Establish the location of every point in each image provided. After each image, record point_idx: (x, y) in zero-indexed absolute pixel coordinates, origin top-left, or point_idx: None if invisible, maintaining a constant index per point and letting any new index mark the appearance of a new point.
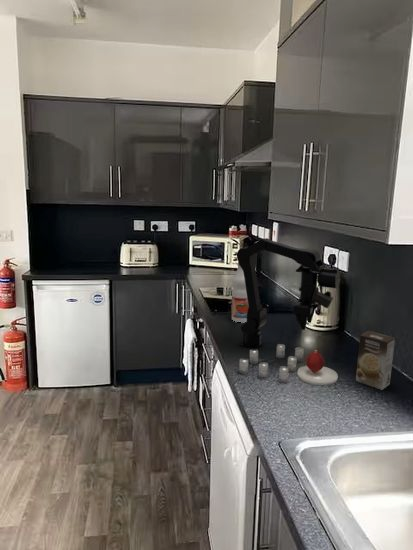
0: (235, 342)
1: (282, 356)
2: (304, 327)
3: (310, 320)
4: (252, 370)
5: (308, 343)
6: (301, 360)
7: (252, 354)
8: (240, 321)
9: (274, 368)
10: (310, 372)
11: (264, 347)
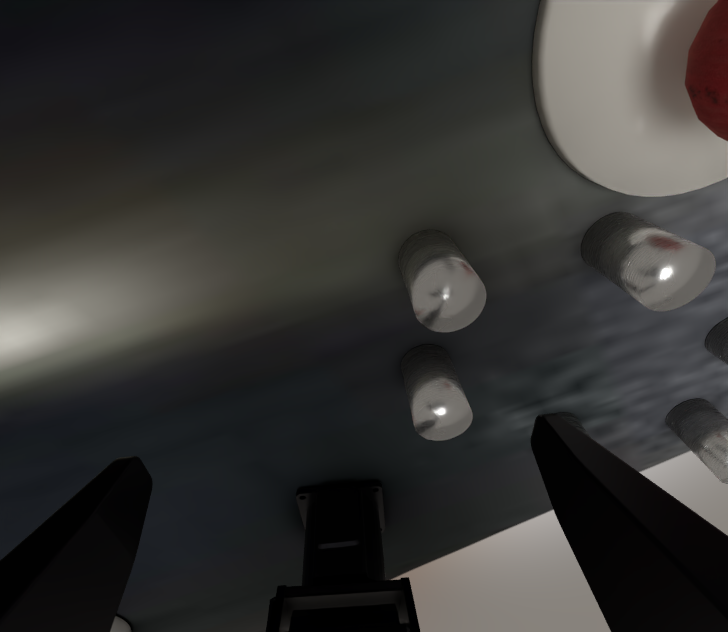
0: None
1: (446, 356)
2: (596, 448)
3: (118, 497)
4: (656, 396)
5: (61, 311)
6: (449, 238)
7: None
8: (117, 626)
9: (606, 329)
10: None
11: (336, 462)
